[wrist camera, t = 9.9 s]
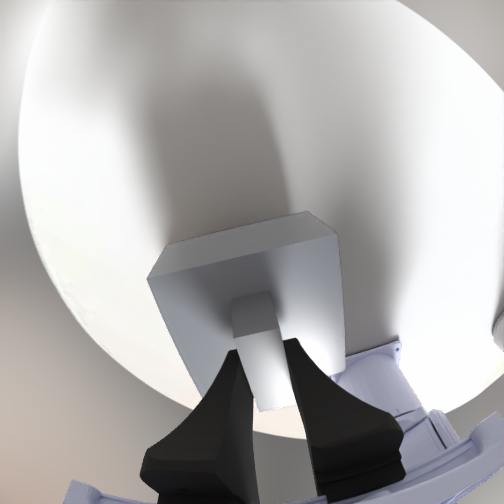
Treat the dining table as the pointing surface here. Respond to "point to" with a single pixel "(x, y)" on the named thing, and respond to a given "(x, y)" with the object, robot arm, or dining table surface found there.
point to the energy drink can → (499, 332)
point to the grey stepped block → (254, 301)
